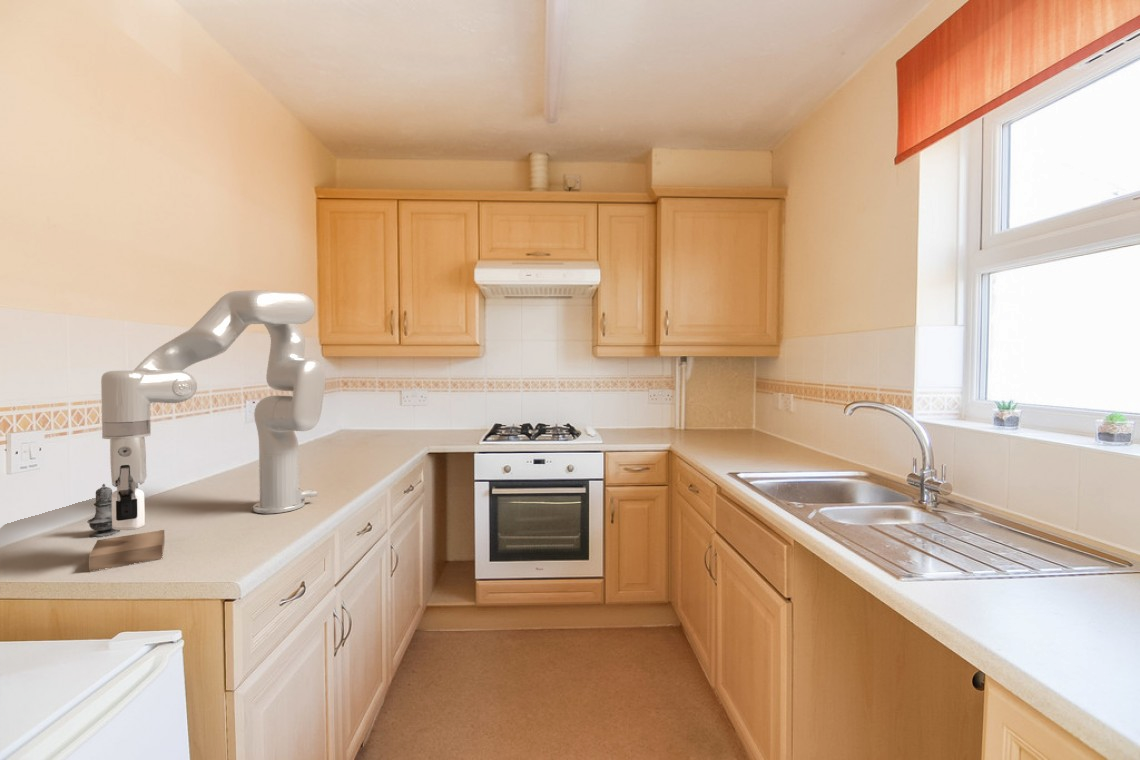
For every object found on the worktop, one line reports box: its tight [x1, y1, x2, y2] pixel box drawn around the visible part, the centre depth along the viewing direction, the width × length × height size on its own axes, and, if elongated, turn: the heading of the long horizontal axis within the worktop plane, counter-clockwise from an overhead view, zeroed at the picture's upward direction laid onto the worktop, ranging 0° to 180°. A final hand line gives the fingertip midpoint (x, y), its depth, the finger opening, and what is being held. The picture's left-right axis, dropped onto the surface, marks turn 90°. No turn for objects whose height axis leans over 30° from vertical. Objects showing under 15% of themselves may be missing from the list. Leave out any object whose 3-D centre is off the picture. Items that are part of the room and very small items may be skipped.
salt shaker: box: [87, 483, 121, 538], centre depth 116 cm, size 6×6×12 cm
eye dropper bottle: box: [112, 472, 146, 531], centre depth 103 cm, size 4×6×12 cm
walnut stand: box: [88, 529, 166, 573], centre depth 103 cm, size 11×11×3 cm
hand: (128, 514), depth 103 cm, fingers closed on eye dropper bottle, 4 cm apart
